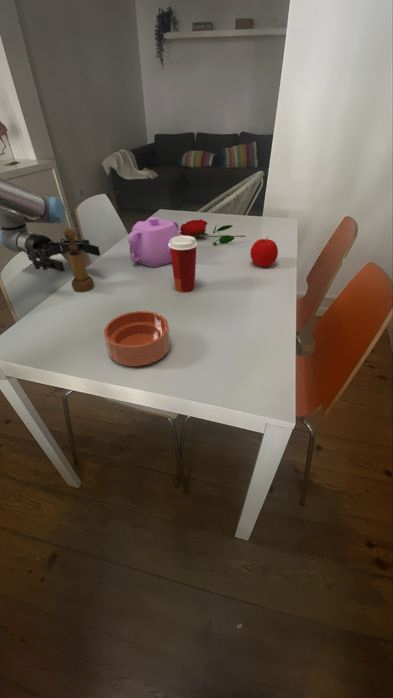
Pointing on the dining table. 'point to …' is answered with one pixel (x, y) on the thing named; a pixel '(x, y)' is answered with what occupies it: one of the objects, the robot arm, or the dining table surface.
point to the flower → (198, 228)
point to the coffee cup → (183, 262)
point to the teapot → (152, 241)
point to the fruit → (264, 252)
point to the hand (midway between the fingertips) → (81, 258)
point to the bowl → (137, 338)
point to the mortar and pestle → (78, 265)
